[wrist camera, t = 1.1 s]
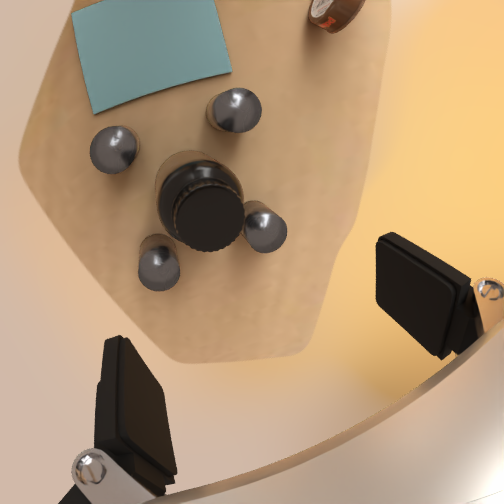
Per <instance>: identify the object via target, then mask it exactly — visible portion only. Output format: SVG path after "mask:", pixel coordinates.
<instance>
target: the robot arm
mask: <svg viewBox="0 0 504 504" xmlns="http://www.w3.org/2000/svg"><path fill="white" fill-rule="evenodd" d="M470 282H471V278H469V277H468V276H466V275H464V274H463V273H461V272H460V271H458V270H457V269H455V268H454V267H452V266H450V265H448V264H447V263H445V262H444V261H442V260H441V259H439V258H437V257H436V256H434V255H432V254H430V253H429V252H427V251H426V250H424V249H422V248H420V247H419V246H417V245H415V244H414V243H412V242H410V241H408V240H407V239H405V238H403V237H401V236H400V235H398V234H396V233H394V232H390V233H387V234H385V235H383V236H380V237H379V239H378V242H377V243H376V302H377V304H378V305H379V306H380V307H381V308H382V309H383V310H384V311H385V312H386V313H387V314H388V315H389V316H391V317H392V318H393V319H394V320H395V321H396V322H397V323H398V324H399V325H400V326H401V327H403V328H404V329H405V330H406V331H407V332H408V333H409V334H410V335H411V336H412V337H413V338H414V339H416V340H417V341H418V342H419V343H420V344H421V345H422V346H423V347H424V348H425V349H426V350H427V351H428V352H429V353H430V354H432V355H433V356H437V357H438V358H440V360H443V359H444V358H445V357H446V356H448V355H449V354H450V353H451V351H454V352H455V356H456V358H455V359H454V360H453V361H451V362H450V363H449V364H448V365H446V366H445V367H444V368H442V369H441V370H440V371H438V372H437V373H436V374H434V375H433V376H432V377H430V378H429V379H428V380H426V381H425V382H423V383H422V384H421V385H419V386H418V387H416V388H415V389H413V390H412V391H410V392H409V393H407V394H406V395H404V396H403V397H401V398H400V399H398V400H397V401H395V402H394V403H392V404H391V405H389V406H387V407H386V408H384V409H383V410H381V411H379V412H378V413H376V414H374V415H372V416H371V417H369V418H367V419H366V420H364V421H362V422H360V423H358V424H356V425H355V426H353V427H351V428H349V429H347V430H345V431H343V432H341V433H339V434H338V435H336V436H334V437H332V438H330V439H327V440H325V441H323V442H321V443H319V444H317V445H315V446H313V447H311V448H308V449H306V450H304V451H302V452H299V453H297V454H295V455H292V456H290V457H287V458H285V459H283V460H280V461H278V462H275V463H273V464H269V465H267V466H264V467H261V468H259V469H256V470H253V471H250V472H247V473H244V474H241V475H238V476H235V477H232V478H229V479H225V480H222V481H218V482H215V483H212V484H208V485H204V486H201V487H197V488H193V489H189V490H185V491H181V492H177V493H173V494H170V495H166V494H165V492H166V488H165V485H170V484H174V483H175V480H174V475H176V474H177V467H176V462H175V457H174V452H173V446H172V441H171V435H170V429H169V423H168V417H167V411H166V404H165V396H164V392H163V389H162V387H161V386H160V384H159V383H158V381H157V380H156V378H155V377H154V375H153V374H152V373H151V371H150V370H149V368H148V367H147V365H146V364H145V362H144V361H143V360H142V358H141V357H140V355H139V354H138V352H137V350H136V349H135V347H134V346H133V345H132V343H131V341H130V340H129V339H128V338H123V337H122V336H121V335H118V336H115V337H113V338H109V339H107V340H105V343H104V351H103V360H102V369H101V380H100V382H99V383H98V385H97V393H96V408H95V432H94V448H92V449H87V450H85V451H83V452H81V453H80V454H79V455H78V456H77V457H76V459H75V460H74V462H73V465H72V472H71V473H72V477H73V480H74V482H75V484H74V486H73V487H72V488H71V489H70V491H69V492H68V493H67V494H66V495H65V496H64V497H63V499H62V500H61V501H60V502H59V503H58V504H504V284H503V283H502V282H500V281H498V280H496V279H493V278H481V279H479V280H477V281H476V282H475V283H474V286H473V287H472V286H470Z"/></svg>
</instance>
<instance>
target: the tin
mask: <svg viewBox="0 0 504 504" xmlns="http://www.w3.org/2000/svg"><path fill="white" fill-rule="evenodd" d="M364 2H365V0H312V2H311V5H310V8H309V20H310V21H311V22H312V23H314V24H315V25H317V26H319V27H321V28H323V29H325V30H327V31H328V32H329V33H336V32H338V31H340V30H342V29H343V28H345V27H346V26H347V25H348V24H349V23H350V22H351V21H352V20H353V19H354V18H355V16H356V15H357V14H358V12H359V11H360V9H361V8H362V6H363V4H364Z"/></svg>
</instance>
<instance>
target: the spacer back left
mask: <svg viewBox="0 0 504 504" xmlns="http://www.w3.org/2000/svg"><path fill="white" fill-rule="evenodd" d="M138 275H139V279H140V281H141V283H142V284H143V285H144V286H145V287H146V288H148V289H150V290H153V291H165V290H168V289H170V288H172V287H173V286H174V285H175V284H176V283H177V281H178V280H179V277H180V268H179V263H178V257H177V252H176V247H175V244H174V242H173V241H172V240H171V239H170V238H169V237H168V236H166V235H163V234H153V235H151V236H149V237H147V238H146V239H145V240H144V241H143V242H142V244H141V246H140V255H139V270H138Z"/></svg>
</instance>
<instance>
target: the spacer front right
mask: <svg viewBox="0 0 504 504" xmlns="http://www.w3.org/2000/svg"><path fill="white" fill-rule="evenodd" d="M261 112H262V108H261V103H260V101H259V99H258V97H257V96H256V95H255V94H254V93H253V92H251V91H249V90H247V89H244V88H234V89H230V90H228V91H225V92H223V93H221V94H218V95H216V96H215V97H213V98H212V99H211V100H210V102H209V103H208V105H207V109H206V115H207V119H208V121H209V123H210V124H211V125H212V126H213V127H214V128H216V129H218V130H222V131H228V132H235V133H242V132H246V131H249V130H251V129H252V128H253V127H255V126H256V124H257V123H258V122H259V120H260V117H261Z"/></svg>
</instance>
